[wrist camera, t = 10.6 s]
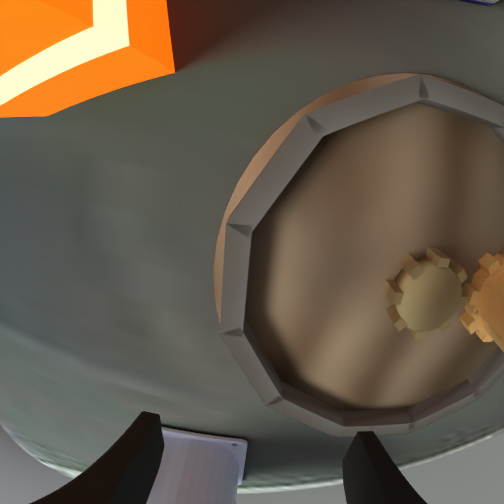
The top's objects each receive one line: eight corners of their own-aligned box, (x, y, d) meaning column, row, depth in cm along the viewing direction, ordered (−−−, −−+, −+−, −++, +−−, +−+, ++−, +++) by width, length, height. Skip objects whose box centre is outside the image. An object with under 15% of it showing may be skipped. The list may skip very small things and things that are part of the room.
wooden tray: (211, 410, 22) (206, 435, 20) (233, 43, 14) (226, 28, 12) (478, 407, 22) (489, 425, 19) (566, 139, 13) (589, 143, 11)
